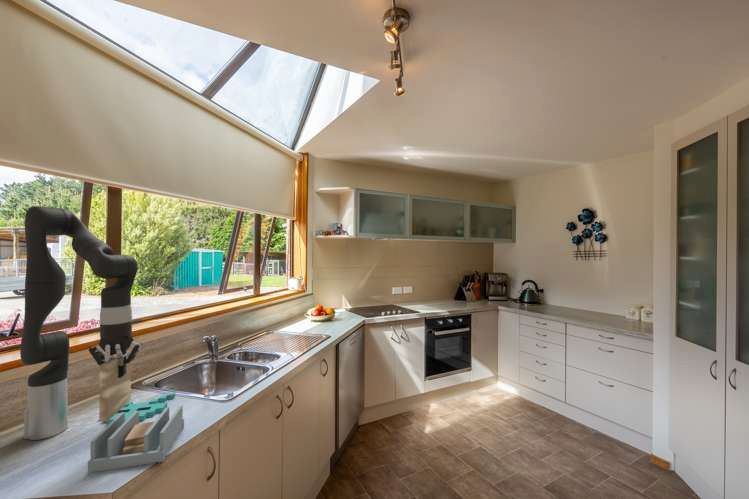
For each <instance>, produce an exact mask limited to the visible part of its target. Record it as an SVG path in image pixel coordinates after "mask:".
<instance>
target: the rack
mask: <svg viewBox="0 0 749 499" xmlns="http://www.w3.org/2000/svg"><path fill="white" fill-rule="evenodd" d="M183 408H184V407H183V405H179V406H178V407H177V408H176V410H175V411H174V412H173V414H172V415H171V417H170V406H167V407H166V408H165V409H164V411H163V412H162V413H159V416H158V417H157V418H156V419H155V420H154V421H155V422H154V421H153V422H154V423H153V424H152V425H151V427H150V428H149V429H148V430H147V432H146V433H145V434H144V452H141V453H134V454H127V455H123V448H124V447H125V444H124V440H125V439H126V437H127V436H128V434H129V433H130V431H131V430H132V428H133V427H134V425H136V424H140V421H139V411H135V412H134V413H133V414H132V415H131V416H130V417H129V418H128V419H127V420H126V421H125V412H121V413H120V414H119V415H118V416H117V417H116V418H115V419H114V420H113V421H112V422H111V423H110V424H109V425H107V426H105V427H104V428H103V429H102V430H101V431H100V432H99V433H98V434H97V435H95V437H94V438H93V439H92V440H91V441H90V459H89V460H88V461H87V473H88V474H90V473H96V472H97V473H98V472H102V471H103V472H104V471H110V470H117V469H124V468H131V467H136V465H138V466H142V464H145V465H150V463H151V464H155V463H154V462H158V463H163V462H164V461H165V458H166V457H167V455H168V454H167V452H168V451H169V452H170V450H171V449H170V447H171V446H172V447H173V445H174V444H175V442H176V441H175V440H177V439H176V438H178V437H179V436H180V434H181V433H182V431H183V430H184V428H185V418H184V416H183V413H184V412H183V410H184V409H183ZM178 435H179V436H178ZM177 436H178V437H177ZM174 441H175V442H174ZM173 443H174V444H173ZM172 444H173V445H172ZM172 447H171V448H172ZM158 448H159V449H158ZM169 449H170V450H169ZM169 452H168V453H169ZM166 454H167V455H166ZM165 456H166V457H165ZM130 466H131V467H130Z"/></svg>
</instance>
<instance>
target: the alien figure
mask: <svg viewBox="0 0 749 499" xmlns="http://www.w3.org/2000/svg"><path fill="white" fill-rule="evenodd" d="M175 398H176V391H173V392H168V393H167V394H166V395H160V396H159V398H152V399H151V400H150V401H146V402H138V403H133V402H134V401H132V400H131V401H129V402H128V403H127V404H126V405H125V406H124V407H123V408H121V409H120V410H119V411H118V412H117V413H116V414H115V415H114V416H113V417H112V418H111V419H109V420H108V421H104V422H102V423H104V424H105V423H106V425H107V426H108V425H109V424H110V423H111V422H112V421H113V420H114V419H115V418H116V417H117V416H118V415H119V414H120V413H121V412H125V421H126V420H127V419H128V418H129V417H130V416H131V415H132V414H133V413H134V412H135V411H139V422H144V421H145V420H146V419H147V418H152V417H155V416H156V415H157V414H161V413H162V412H163V411H164V409H165V408H166V407H168V402H167V401H168V400H174V399H175Z"/></svg>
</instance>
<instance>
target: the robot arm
mask: <svg viewBox="0 0 749 499" xmlns="http://www.w3.org/2000/svg"><path fill="white" fill-rule="evenodd" d="M24 234H25V235H24V236H25V248H26V266H25V268H26V269H25V277H24V278H25V280H24V315H23V316H24V318H23V325H22V326H23V328H22V332H21V340H20V350H19V352H20V353H19V355H20V360H21V362H22V363H23V364H24V365H26V366H32V365H37V364H38V365H39V364H42V363H46V362H49V363H47V364H46V365H44V367H42V368H40V369H39V370H36V371H35V372H33V373H32V374H30V375H29V376H28V378H27V408H25V409H24V411H23V439H24V440H31V441H39V440H44V439H48V438H52V437H54V436H57V435H59V434H61V433H63V432H64V431H66V430H67V428H68V423H69V420H68V418H69V417H68V413H69V412H68V411H69V410H68V408H69V407H68V404H69V403H68V400H69V399H68V398H69V397H68V371H69V362H70V361H69V358H70V345H71V344H70V338H69V335H68V333H66V331H63V330H60V331H59V330H58V331H52V332H46V333H41V331H42V328H43V325H44V322H45V321H46V319H47V318H48V317H49V316H50V314H51V313H52V312H53V311H54V309H55V308H56V307H57V306H58V305H59V304H60V302H61V301H62V300H63V298H64V296H65V294H66V282H67V279H66V278H67V276H66V273H65V270H64V269H63V268H62V267H61V265H60V264H59V263H58V262H57V261H56V259H55V258H54V256H52V255H51V254H52V253H50V251H49V248H48V244H47V243H48V242H47V236H56V237H58V236H59V237H60V236H67V237H68V238H71V239H72V240H71V248H72V249H73V252H74V253H75V254H76V255H78V257H80V258H81V259H82V260H84V261H86V262H87V264H88V266H89V267H90V270H91V271H92V273H93V274H94V275H95V276H96V277H97V278H99V279H104V280H110V279H116V280H115V282H114V283H113V284H111V285H109V286H106V287H103V288H102V289H101V293H100V312H99V338H100V340H99V342H98V344H97V345H93V346H91V347H90V348H88V352H89V354H90V355H91V356H92V358H93V359H94V361H95V362H96V364H97V365H98V366H100V365H101V364H103V363H105V362H106V361H108V360H110V359H111V358H113V357H115V356H116V355H117V359H118V362H119V366H118V378H122V377H123V376H124V375H125V374H126V364H127V363H130V362H131V363H132V362H133V361H134V360H135V358H136V357H137V355H138V353H139V352H140V350H141V349H142V347H143V343H142V342H139V343H138V342H136V341H134V338H133V336H132V335H133V311H132V302H131V301H132V296H131V295H132V288H133V286H134V283H135V279H136V276H137V274H138V268H139V267H138V262H137V260H136V258H135V257H134V256H133V255H130V254H114V249H112V247H111V246H109V244H107V243H106V242H104V241H102V240H101V239H100V238H98V237H97V236H96V235H94V233H92V232H91V231H90V229H89V228H88V227H87V226H86V225H85V224H84V223H83V221H82V220H81V219H80V218H79V217H78V216H77V215H76V214H75V213H74V212H72V210H70V209H67V208H63V207H53V206H39V205H38V206H37V205H33V206H30V207H29V208H28V209H27V210H26V213H25V216H24ZM129 348H130V349H131V350H130V351H131V353H130V355H129V356H128V358H127V354H128V353H127V351H128V349H129ZM102 351H103V352H104V353H103V352H102Z"/></svg>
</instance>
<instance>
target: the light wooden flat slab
mask: <svg viewBox="0 0 749 499" xmlns="http://www.w3.org/2000/svg"><path fill="white" fill-rule="evenodd" d="M131 351H132V350H127V353H128V354H127V358H128V356H129V355H130V353H131ZM118 366H119V362H118V359H117V354H116V355H115V357H113V358H111V359H110V360H108V361H106V362H105V363H103V364H101V365H99V388H98V389H99V396H98V397H99V399H98V400H99V406H98V407H99V410H98V411H99V415H98V419H99V420H98V422H99V423H103V422H104V421H108V420H109V419H111V418H112V417H113V416H114V415H115V414H116V413H117V412H118V411H119V410H120V409H121V408H123V407H124V406H125V405H126V404H127V403H128V402H131V401H132V399H131V398H132V391H131V390H132V381H131V380H132V379H131V378H132V361H131V362H130V363H127V364H126V374H125V375H124V376H123V377H122V378H118Z"/></svg>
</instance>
